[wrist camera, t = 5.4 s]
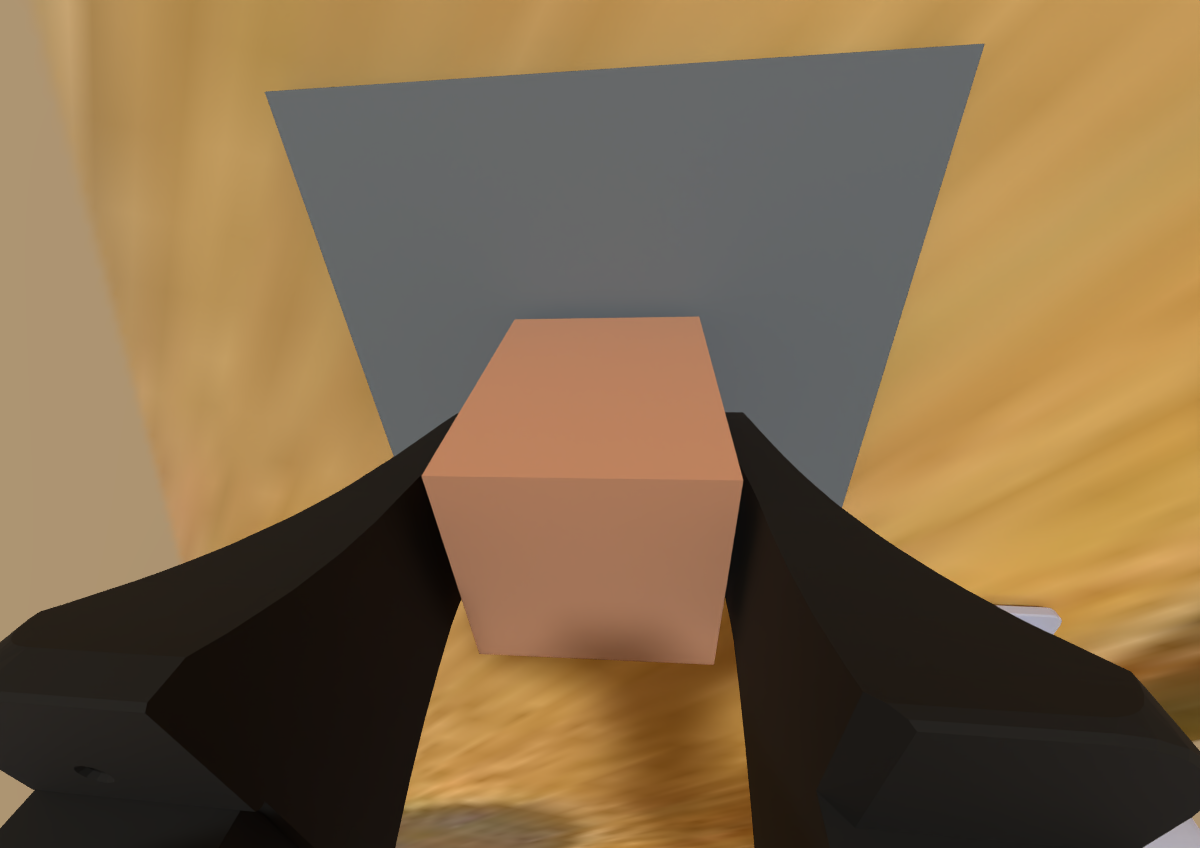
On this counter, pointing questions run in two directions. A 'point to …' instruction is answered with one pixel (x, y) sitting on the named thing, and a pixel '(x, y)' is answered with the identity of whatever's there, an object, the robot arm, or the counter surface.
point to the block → (592, 493)
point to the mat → (637, 222)
